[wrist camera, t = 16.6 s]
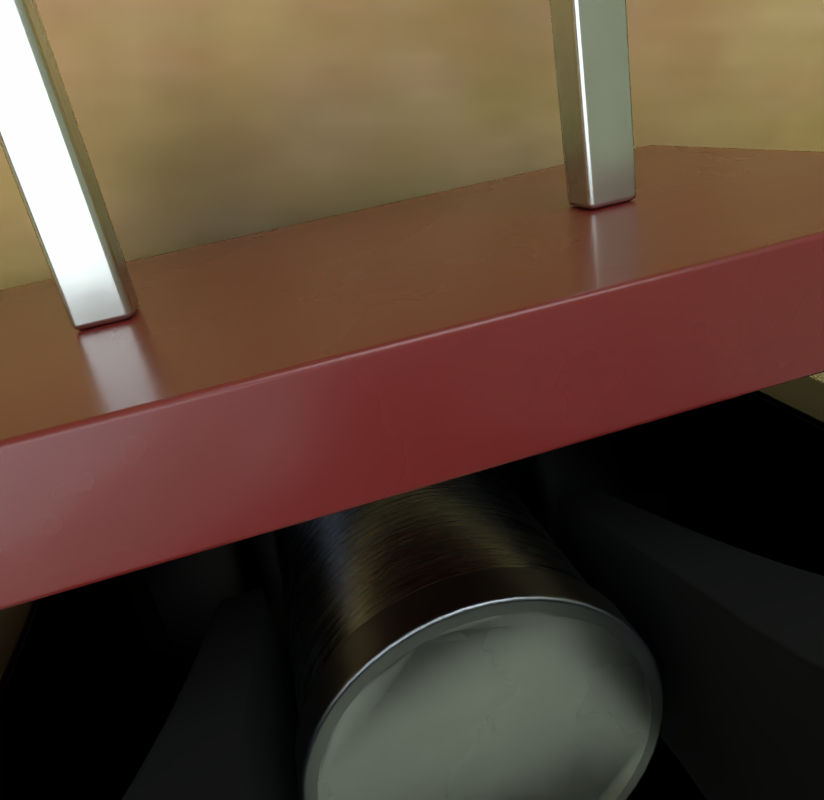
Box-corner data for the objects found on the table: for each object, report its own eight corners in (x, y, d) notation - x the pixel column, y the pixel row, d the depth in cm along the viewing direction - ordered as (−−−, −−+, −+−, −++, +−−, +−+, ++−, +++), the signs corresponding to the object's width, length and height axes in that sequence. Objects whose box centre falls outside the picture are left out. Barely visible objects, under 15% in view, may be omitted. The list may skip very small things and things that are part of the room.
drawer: (-283, -179, 8) (-1994, -1220, 2) (632, -289, 10) (1332, -1002, 4) (211, 892, 16) (202, 1393, 9) (677, 721, 17) (928, 1050, 11)
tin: (534, 607, 13) (672, 821, 9) (307, 680, 13) (348, 947, 9) (504, 398, 12) (657, 546, 8) (241, 470, 11) (250, 676, 7)
